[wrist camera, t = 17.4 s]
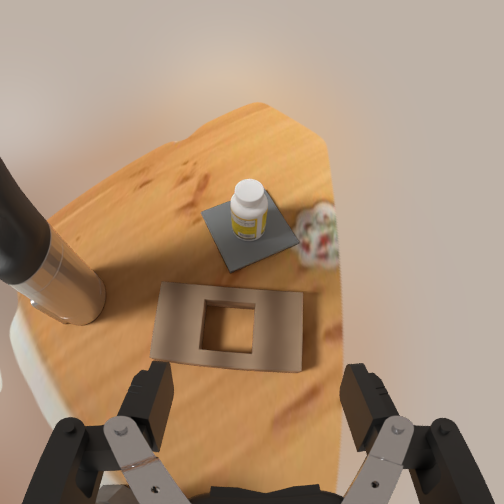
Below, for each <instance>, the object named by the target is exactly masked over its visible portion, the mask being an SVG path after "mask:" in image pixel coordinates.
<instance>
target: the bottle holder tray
mask: <svg viewBox="0 0 504 504" xmlns="http://www.w3.org/2000/svg"><path fill="white" fill-rule="evenodd" d="M207 306H218V307H230V308H242V309H255V313H254V328H253V343H252V354H245V353H233V352H221V351H211V350H202V343H203V334H204V325H205V316H206V308H207ZM302 334H303V292H286V291H271V290H257V289H243V288H230V287H218V286H206V285H195V284H184V283H174V282H163V281H162V282H161V288H160V293H159V299H158V305H157V311H156V317H155V323H154V330H153V336H152V343H151V350H150V358H152V359H154V360H158V361H165V362H171V363H179V364H186V365H194V366H203V367H212V368H222V369H234V370H247V371H262V372H284V373H298V372H301V368H302Z"/></svg>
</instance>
